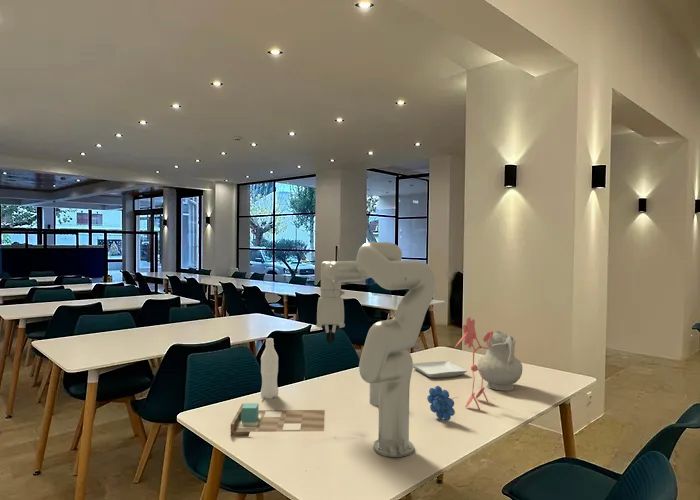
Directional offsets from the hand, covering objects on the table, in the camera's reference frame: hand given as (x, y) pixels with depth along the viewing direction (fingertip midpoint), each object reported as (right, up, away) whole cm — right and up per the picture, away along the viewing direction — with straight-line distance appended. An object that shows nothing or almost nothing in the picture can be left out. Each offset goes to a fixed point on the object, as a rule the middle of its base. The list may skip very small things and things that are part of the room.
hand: (330, 342), depth 176 cm
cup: (+19, -27, +14) cm, 36 cm away
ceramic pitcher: (+76, -27, +35) cm, 88 cm away
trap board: (-17, -27, -9) cm, 33 cm away
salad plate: (+52, -27, +59) cm, 83 cm away
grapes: (+40, -28, -4) cm, 49 cm away
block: (-28, -26, -9) cm, 39 cm away
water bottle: (-26, -27, +17) cm, 41 cm away
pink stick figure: (+55, -28, +15) cm, 63 cm away
